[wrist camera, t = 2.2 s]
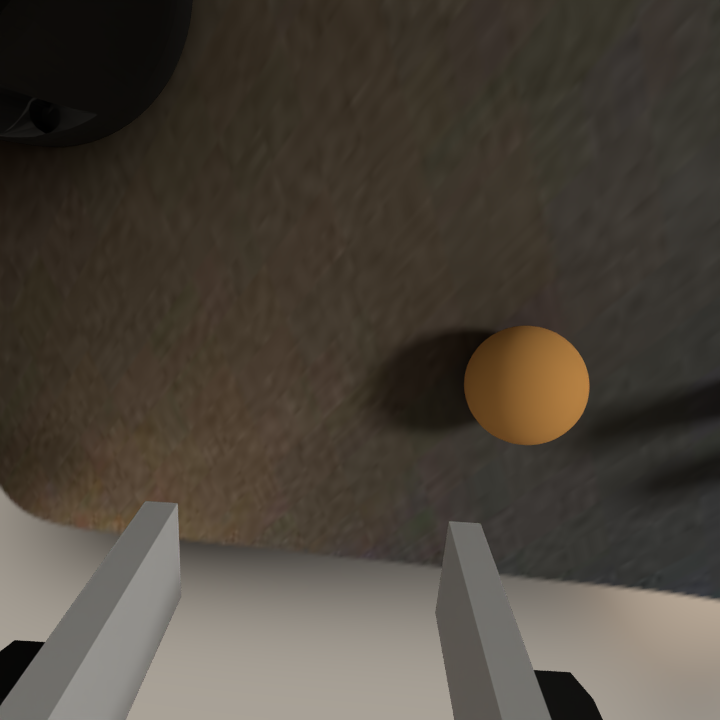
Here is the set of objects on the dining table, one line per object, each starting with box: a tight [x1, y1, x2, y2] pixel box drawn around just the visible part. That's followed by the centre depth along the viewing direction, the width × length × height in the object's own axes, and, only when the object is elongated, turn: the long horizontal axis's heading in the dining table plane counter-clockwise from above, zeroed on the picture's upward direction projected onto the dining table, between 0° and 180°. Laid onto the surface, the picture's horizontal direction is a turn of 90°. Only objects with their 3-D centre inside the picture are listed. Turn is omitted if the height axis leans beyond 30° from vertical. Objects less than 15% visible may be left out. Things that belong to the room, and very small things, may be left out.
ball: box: [464, 326, 589, 445], centre depth 26 cm, size 6×6×6 cm
